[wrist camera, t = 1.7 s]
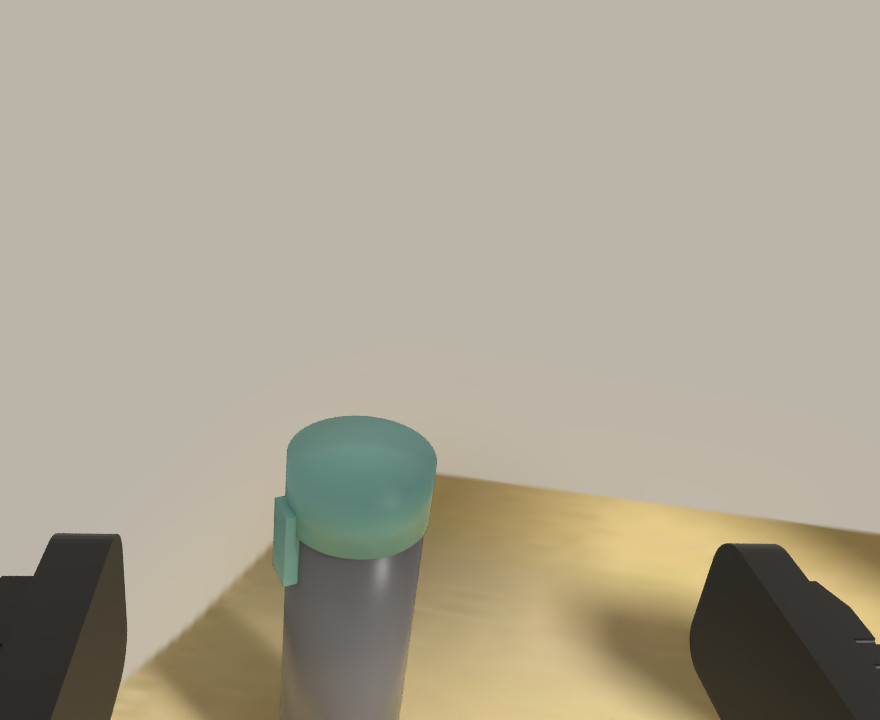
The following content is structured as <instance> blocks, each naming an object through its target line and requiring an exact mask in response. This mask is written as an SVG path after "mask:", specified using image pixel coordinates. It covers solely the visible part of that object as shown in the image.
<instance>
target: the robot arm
mask: <svg viewBox="0 0 880 720" xmlns="http://www.w3.org/2000/svg"><path fill="white" fill-rule="evenodd" d="M122 552H123V551H122V542H121V538H120V536H119V535H118V534H69V533H68V534H67V533H61V534H60V533H57V534H54V535H53V536H52V538H51V539H50V541H49V543H48V545H47V548H46V550H45V552H44V554H43V556H42V559H41V561H40V563H39V565H38V567H37V570H36V572H35V574H34V576H2V577H1V578H0V720H110V719H111V715H112V712H113V708H114V704H115V700H116V697H117V693H118V689H119V685H120V682H121V678H122V673H123V668H124V662H125V654H126V643H127V618H126V603H125V602H126V601H125V584H124V569H123V553H122ZM690 651H691V657H692V661H693V665H694V667H695V670H696V672H697V674H698V676H699V678H700V680H701V682H702V684H703V686H704V688H705V690H706V692H707V694H708V696H709V698H710V699H711V701H712V703H713V705H714V707H715V709H716V711H717V713H718V715H719V717H720V719H721V720H880V644H876V643H875V638H874V636H873V635H872V634H871V633H870V631H869V630H868V629H867V628H866V626H865V625H864V624H863V623H862V621H861V620H860V619H859V618H858V616H857V615H856V614H855V613H854V611H853V610H852V609H851V608H850V607H849V606H848V605H846V604H845V603H844V602H842V601H841V600H840V599H839V598H837V597H836V596H835V595H833V594H832V593H831V592H829V591H828V590H827V589H825V588H824V587H823V586H822V585H820V584H819V583H818V582H816V581H809V580H808V579H807V577H806V576H805V575H804V573H803V572H802V571H801V570H800V568H799V567H798V566H797V564H796V563H795V562H794V560H793V559H792V558H791V557H790V555H789V554H788V553H787V552H786V550H785V549H784V548H782V547H781V546H779V545H777V544H732V543H727V544H723V545H721V546H720V547H719V548H718V550H717V551H716V553H715V556H714V558H713V561H712V564H711V567H710V570H709V573H708V576H707V579H706V582H705V585H704V588H703V591H702V594H701V597H700V600H699V603H698V606H697V609H696V612H695V615H694V618H693V621H692V625H691V630H690Z"/></svg>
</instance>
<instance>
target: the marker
mask: <svg viewBox="0 0 880 720" xmlns="http://www.w3.org/2000/svg"><path fill="white" fill-rule="evenodd" d="M436 465H437V458H436V454H435V451H434V449H433V447H432V446H431V445H430V443H429V442H428V441H427V440H426V439H425V438H424V437H423V436H421V435H420V434H419V433H417V432H416V431H414V430H413V429H411V428H408V427H406V426H404V425H402V424H399V423H396V422H393V421H390V420H386V419H381V418H375V417H368V416H342V417H335V418H330V419H325V420H322V421H319V422H316V423H314V424H311V425H309V426H307V427H305V428H304V429H302V430H301V431H299V433H297V434H296V435H295V436H294V437H293V439H292V440H291V442H290V444H289V446H288V449H287V466H286V492H285V493H286V494H285V496H282V497H277V498H275V510H274V541H273V566H274V568H275V570H276V573H277V575H278V577H279V579H280V581H281V583H282V585H283V587H285V602H284V627H283V651H282V675H281V700H280V720H399V716H400V708H401V701H402V693H403V686H404V678H405V671H406V663H407V656H408V648H409V641H410V633H411V626H412V618H413V611H414V603H415V596H416V588H417V581H418V573H419V566H420V559H421V551H422V544H423V536H424V533H425V532H426V529H427V527H428V523H429V517H430V510H431V502H432V495H433V487H434V480H435V473H436Z"/></svg>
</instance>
